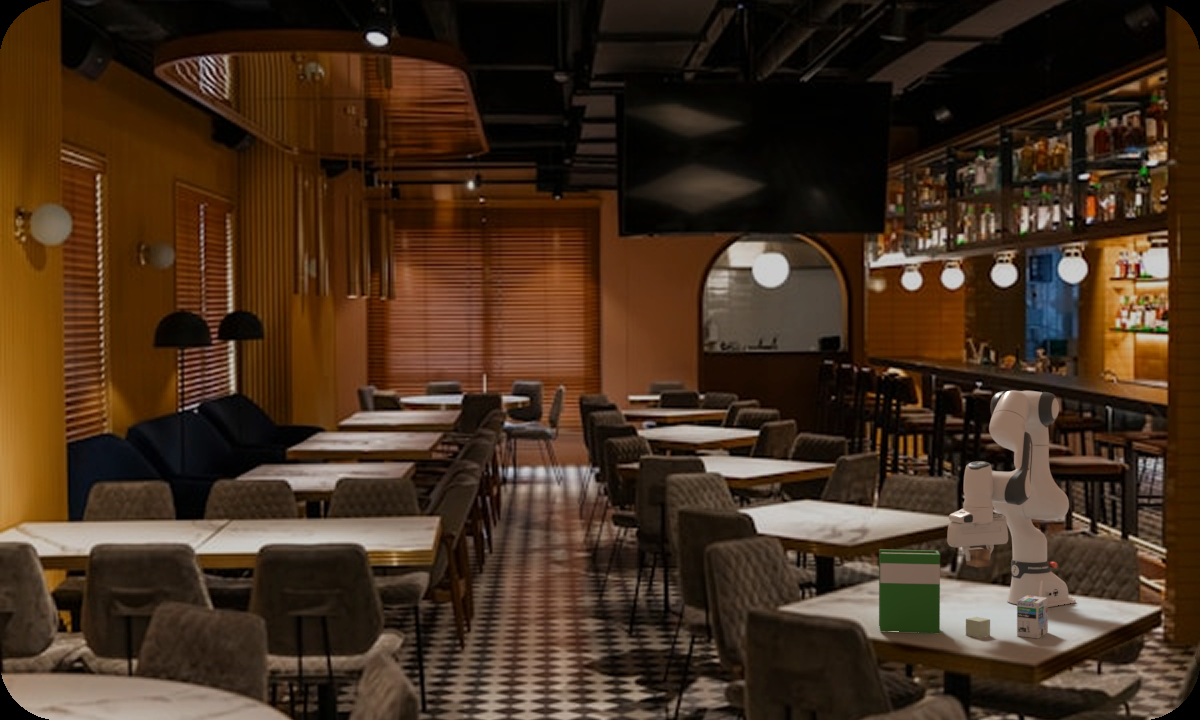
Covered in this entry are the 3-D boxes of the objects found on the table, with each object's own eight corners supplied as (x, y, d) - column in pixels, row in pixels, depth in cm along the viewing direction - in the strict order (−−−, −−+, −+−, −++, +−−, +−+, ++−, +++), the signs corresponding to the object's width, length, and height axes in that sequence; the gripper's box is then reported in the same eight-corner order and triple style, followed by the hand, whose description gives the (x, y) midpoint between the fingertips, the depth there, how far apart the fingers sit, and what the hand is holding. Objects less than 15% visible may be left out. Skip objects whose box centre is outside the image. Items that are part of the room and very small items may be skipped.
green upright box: (880, 632, 445) (880, 553, 444) (878, 626, 452) (879, 549, 452) (939, 633, 443) (940, 554, 442) (937, 628, 450) (937, 550, 449)
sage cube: (976, 633, 443) (976, 616, 443) (990, 636, 439) (990, 619, 439) (965, 635, 440) (965, 618, 440) (979, 638, 436) (979, 621, 436)
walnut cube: (979, 563, 453) (979, 547, 453) (989, 566, 448) (989, 549, 448) (966, 564, 451) (966, 548, 451) (976, 567, 446) (976, 550, 446)
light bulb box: (1038, 639, 435) (1039, 603, 435) (1016, 636, 438) (1016, 600, 438) (1048, 632, 444) (1048, 597, 444) (1026, 630, 447) (1026, 594, 447)
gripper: (1000, 511, 456) (999, 556, 456) (944, 515, 448) (944, 560, 449) (1012, 514, 450) (1012, 559, 451) (956, 518, 443) (956, 563, 443)
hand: (977, 560), depth 450 cm, fingers closed on walnut cube, 5 cm apart
